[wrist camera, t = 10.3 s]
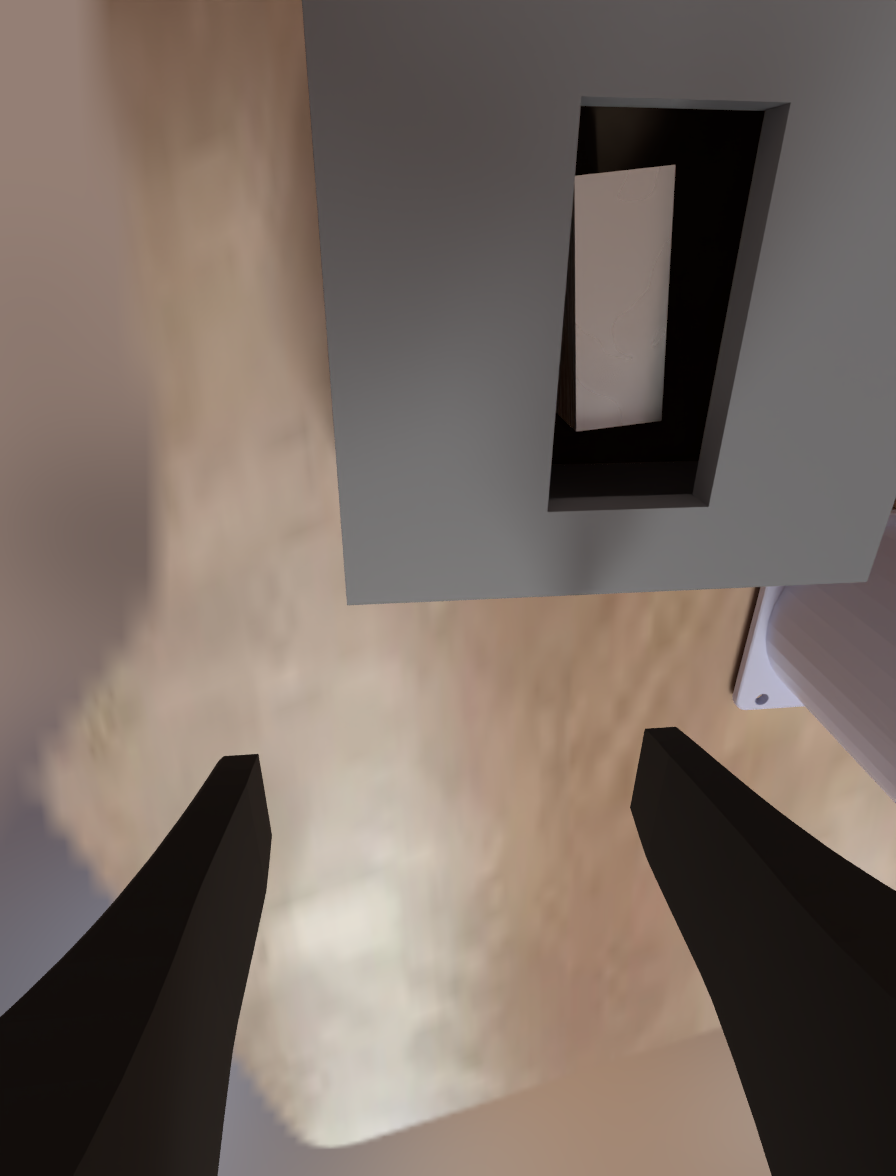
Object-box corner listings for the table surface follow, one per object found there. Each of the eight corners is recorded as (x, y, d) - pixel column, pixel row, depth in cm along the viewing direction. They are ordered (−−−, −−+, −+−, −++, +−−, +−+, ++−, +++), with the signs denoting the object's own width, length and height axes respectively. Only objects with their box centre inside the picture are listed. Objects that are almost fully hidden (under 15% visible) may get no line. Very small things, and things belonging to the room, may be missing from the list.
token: (597, 184, 17) (675, 164, 13) (596, 380, 20) (661, 420, 15) (522, 192, 17) (574, 175, 13) (530, 388, 19) (576, 431, 15)
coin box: (814, 59, 16) (1082, -49, 10) (724, 483, 21) (866, 581, 15) (325, 42, 15) (294, -92, 9) (354, 494, 20) (346, 605, 14)
